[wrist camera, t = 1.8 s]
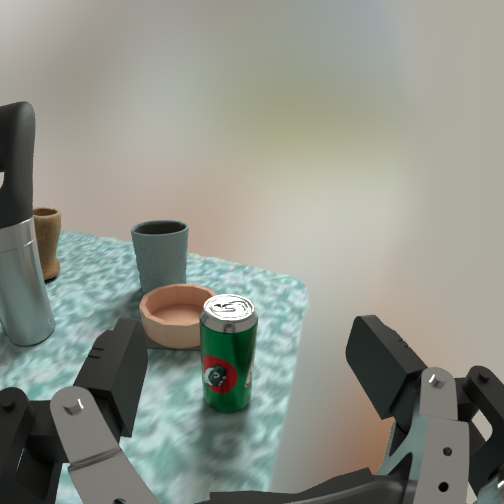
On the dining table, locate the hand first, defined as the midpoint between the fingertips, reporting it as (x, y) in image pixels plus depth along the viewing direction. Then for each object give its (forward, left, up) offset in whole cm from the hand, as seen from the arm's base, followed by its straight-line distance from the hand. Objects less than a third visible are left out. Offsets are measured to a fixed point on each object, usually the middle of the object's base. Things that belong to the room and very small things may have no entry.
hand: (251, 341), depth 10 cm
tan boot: (-42, +43, -18) cm, 63 cm away
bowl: (-6, +26, -17) cm, 32 cm away
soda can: (0, +12, -18) cm, 22 cm away
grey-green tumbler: (-11, +38, -18) cm, 44 cm away
